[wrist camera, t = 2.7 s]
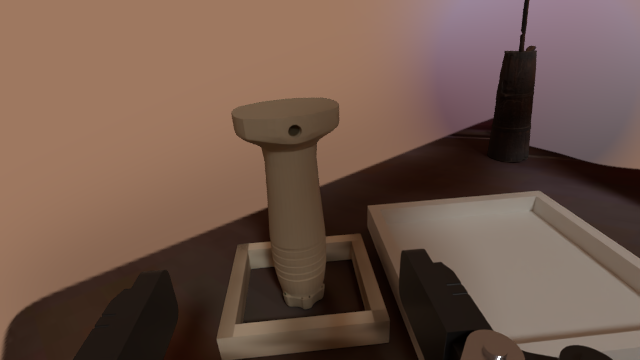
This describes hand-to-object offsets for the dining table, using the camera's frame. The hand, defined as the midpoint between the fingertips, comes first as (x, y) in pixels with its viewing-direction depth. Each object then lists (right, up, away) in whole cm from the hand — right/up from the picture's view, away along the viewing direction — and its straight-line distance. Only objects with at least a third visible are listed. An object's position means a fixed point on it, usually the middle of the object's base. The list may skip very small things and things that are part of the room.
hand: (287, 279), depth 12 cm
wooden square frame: (0, -6, +15) cm, 16 cm away
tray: (+16, -4, +16) cm, 23 cm away
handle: (0, -6, +15) cm, 16 cm away
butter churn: (+30, +7, +40) cm, 50 cm away
